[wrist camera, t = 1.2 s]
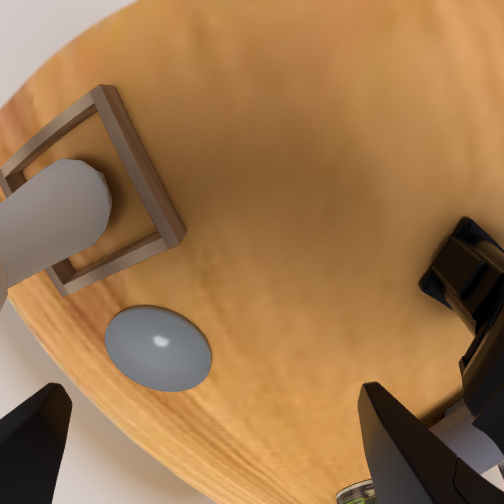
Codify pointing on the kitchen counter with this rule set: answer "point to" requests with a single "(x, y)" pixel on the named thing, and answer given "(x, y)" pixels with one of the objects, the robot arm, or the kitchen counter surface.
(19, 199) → the salt shaker
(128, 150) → the square wooden frame
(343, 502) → the coffee can
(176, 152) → the kitchen counter surface
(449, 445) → the bluetooth speaker
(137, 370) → the coaster
